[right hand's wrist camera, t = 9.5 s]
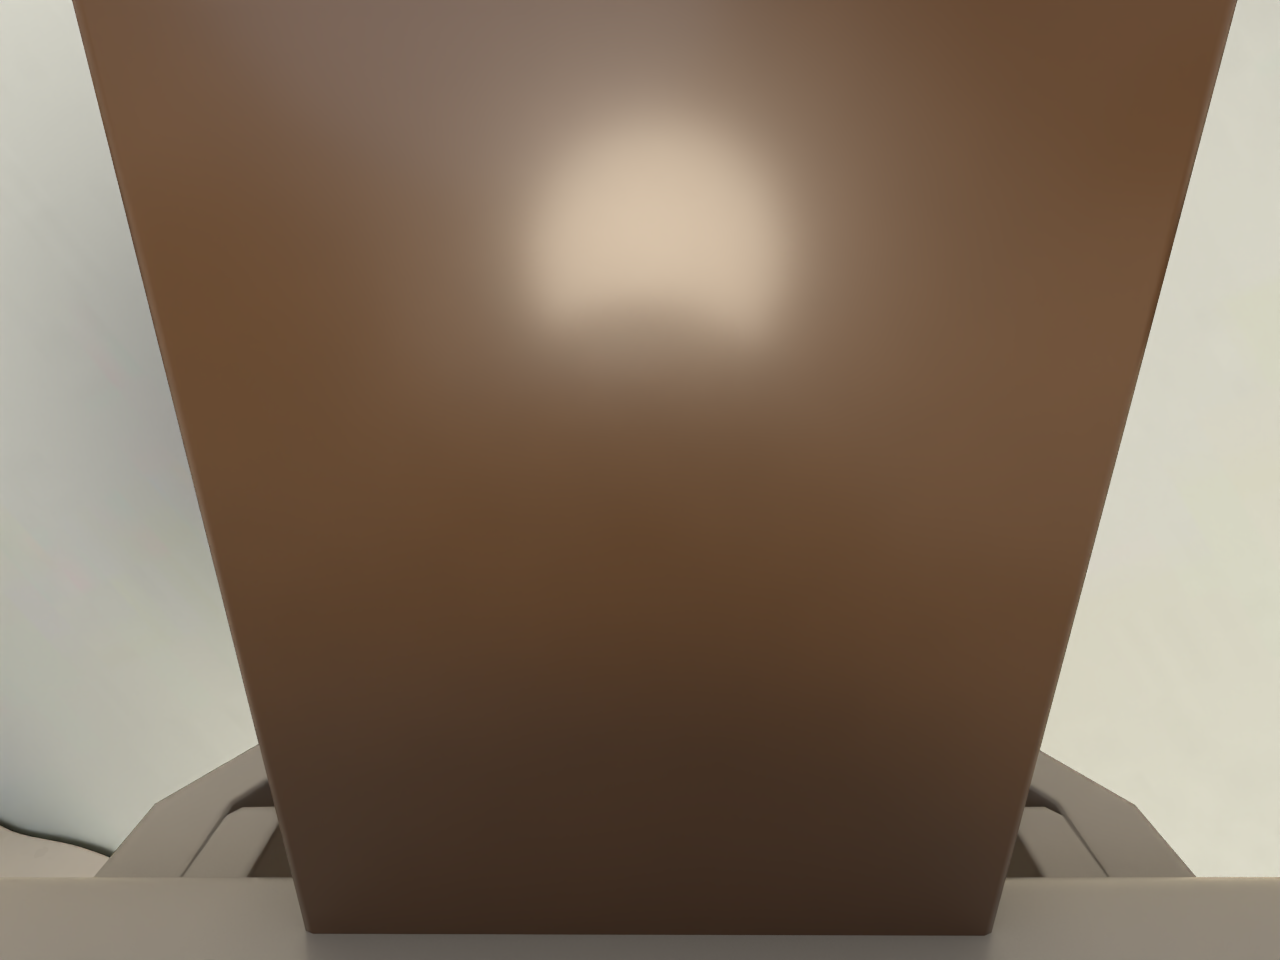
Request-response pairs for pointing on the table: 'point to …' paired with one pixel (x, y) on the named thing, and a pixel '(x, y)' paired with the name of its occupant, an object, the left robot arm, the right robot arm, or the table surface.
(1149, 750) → the table surface
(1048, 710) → the bar
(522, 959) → the right robot arm
